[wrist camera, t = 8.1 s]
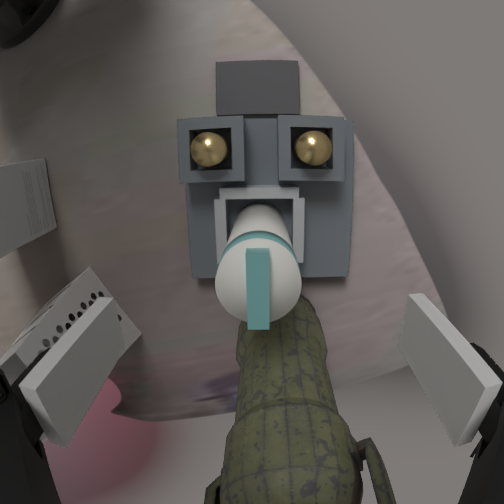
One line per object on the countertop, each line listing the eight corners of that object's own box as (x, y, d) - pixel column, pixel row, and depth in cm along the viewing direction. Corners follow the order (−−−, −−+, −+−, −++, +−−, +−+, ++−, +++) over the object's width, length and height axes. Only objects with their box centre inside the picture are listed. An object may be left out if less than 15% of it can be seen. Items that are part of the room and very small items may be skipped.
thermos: (214, 318, 37) (134, 654, 4) (304, 266, 35) (403, 666, 1) (256, 369, 39) (243, 661, 6) (340, 325, 37) (436, 635, 3)
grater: (90, 266, 35) (-19, 358, 16) (141, 333, 38) (73, 455, 19) (45, 303, 37) (-46, 387, 18) (92, 361, 40) (25, 463, 21)
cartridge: (233, 201, 31) (208, 249, 16) (285, 201, 30) (306, 248, 16) (235, 251, 32) (214, 332, 18) (285, 250, 32) (302, 332, 18)
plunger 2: (292, 132, 28) (297, 130, 24) (322, 133, 28) (331, 131, 24) (292, 162, 29) (297, 165, 25) (322, 163, 29) (331, 165, 25)
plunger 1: (199, 135, 28) (189, 133, 24) (229, 133, 28) (224, 131, 24) (200, 164, 29) (191, 167, 25) (230, 163, 29) (225, 165, 25)
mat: (216, 63, 28) (215, 62, 28) (297, 62, 28) (297, 60, 27) (217, 115, 30) (216, 115, 29) (298, 114, 30) (299, 114, 29)
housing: (187, 123, 30) (175, 119, 26) (348, 122, 30) (362, 118, 25) (196, 271, 35) (186, 290, 30) (343, 269, 35) (355, 288, 30)
